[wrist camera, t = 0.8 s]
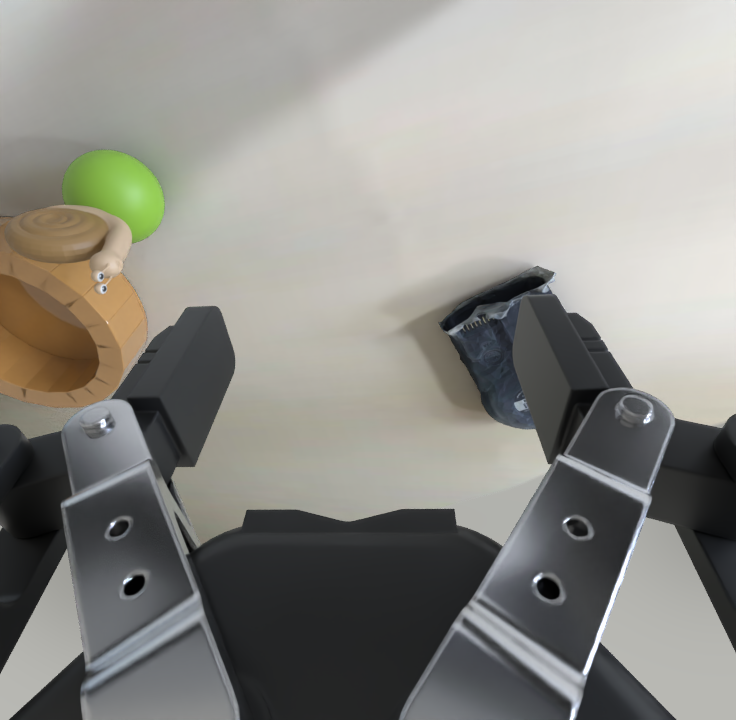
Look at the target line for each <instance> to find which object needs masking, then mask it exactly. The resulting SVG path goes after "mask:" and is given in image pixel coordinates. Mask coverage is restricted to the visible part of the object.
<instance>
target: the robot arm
mask: <svg viewBox="0 0 736 720" xmlns="http://www.w3.org/2000/svg"><path fill="white" fill-rule="evenodd" d="M513 363H514V367H515V370H516V373H517V376H518V379H519V382H520V385H521V388H522V390H523V393H524V396H525V399H526V402H527V405H528V408H529V410H530V413H531V416H532V419H533V422H534V425H535V428H536V431H537V433H538V436H539V439H540V442H541V445H542V448H543V451H544V453H545V456H546V459H547V462H548V464H552V465H551V467H550V468H549V470H548V472H547V473H546V475H545V477H544V479H543V480H542V482H541V483H540V485H539V487H538V489H537V490H536V492H535V494H534V495H533V497H532V499H531V500H530V502H529V504H528V505H527V507H526V509H525V510H524V512H523V514H522V516H521V517H520V519H519V520H518V522H517V524H516V526H515V527H514V529H513V531H512V532H511V534H510V536H509V538H508V539H507V541H506V542H505V544H504V546H501V545H500V544H498V543H497V542H495V541H494V540H492V539H490V538H488V537H486V536H484V535H482V534H480V533H478V532H476V531H473V530H470V529H468V528H465V527H461V526H457V525H456V519H455V511H454V509H401V510H397V511H393V512H389V513H385V514H380V515H376V516H372V517H368V518H364V519H360V520H356V521H351V522H345V521H340V520H336V519H332V518H328V517H324V516H320V515H316V514H312V513H308V512H304V511H300V510H247V511H246V515H245V518H244V522H243V525H242V527H238V528H235V529H232V530H230V531H227V532H224V533H222V534H220V535H218V536H216V537H214V538H212V539H210V540H209V541H207V542H205V543H204V544H202V545H201V543H200V541H199V538H198V536H197V534H196V532H195V529H194V527H193V525H192V522H191V520H190V518H189V515H188V513H187V510H186V508H185V506H184V503H183V501H182V499H181V496H180V494H179V492H178V489H177V487H176V485H175V482H174V481H173V479H172V477H171V476H172V474H173V472H174V470H175V468H176V467H195V465H196V462H197V460H198V457H199V455H200V453H201V450H202V448H203V445H204V443H205V441H206V438H207V436H208V434H209V431H210V429H211V426H212V424H213V422H214V419H215V417H216V414H217V412H218V410H219V407H220V405H221V403H222V400H223V398H224V395H225V393H226V391H227V388H228V386H229V384H230V381H231V379H232V376H233V374H234V370H235V354H234V350H233V347H232V344H231V341H230V338H229V335H228V332H227V329H226V325H225V322H224V319H223V316H222V313H221V311H220V309H219V308H218V307H217V306H202V307H187V308H186V309H185V310H184V312H183V313H182V315H181V316H180V318H179V319H178V321H177V322H176V324H175V325H174V326H169V327H168V328H166V329H165V330H164V331H162V332H161V333H160V334H158V335H157V336H156V337H154V339H153V340H152V341H151V343H150V344H149V346H148V347H147V349H146V350H145V353H143V354H142V356H141V357H140V358H139V360H138V364H135V366H134V367H133V368H132V370H131V371H130V373H129V374H128V376H127V377H126V378H125V380H124V381H123V383H122V384H121V385H120V387H119V388H118V390H117V391H116V393H115V394H114V395H113V397H112V398H111V399H108V400H103V401H99V402H96V403H93V404H91V405H89V406H87V407H85V408H83V409H81V410H80V411H78V412H77V413H76V414H74V415H73V416H72V417H71V418H70V419H69V420H68V421H67V423H66V424H65V425H64V427H63V429H62V431H59V432H55V433H51V434H47V435H43V436H39V437H35V438H31V439H27V438H26V437H25V435H24V434H23V433H22V432H21V431H20V429H19V428H17V427H16V426H14V425H9V424H2V425H0V525H1V526H2V527H3V528H2V529H1V531H0V673H1V671H2V669H3V667H4V665H5V664H6V662H7V660H8V658H9V656H10V654H11V652H12V651H13V649H14V647H15V645H16V643H17V641H18V639H19V637H20V636H21V634H22V632H23V630H24V628H25V626H26V624H27V622H28V620H29V619H30V617H31V615H32V613H33V611H34V609H35V607H36V605H37V604H38V602H39V600H40V598H41V596H42V594H43V592H44V590H45V588H46V586H47V585H48V583H49V581H50V579H51V577H52V575H53V573H54V572H55V570H56V568H57V566H58V564H59V562H60V560H61V558H62V557H63V555H64V553H65V551H66V549H67V550H68V556H69V563H70V569H71V575H72V581H73V587H74V594H75V600H76V607H77V613H78V619H79V626H80V632H81V638H82V645H83V652H82V653H81V654H80V655H79V656H78V657H77V658H75V659H74V660H73V661H72V662H71V663H70V664H69V665H68V666H67V667H66V668H65V669H64V670H62V671H61V672H60V673H59V674H58V675H57V676H56V677H55V678H54V679H53V680H52V681H51V682H49V683H48V684H47V685H46V686H45V687H44V688H43V689H42V690H41V691H40V692H39V693H38V694H37V695H35V696H34V697H33V698H32V699H31V700H30V701H29V702H28V703H27V704H26V705H24V706H23V707H22V708H21V709H20V710H19V711H18V712H17V713H16V714H15V715H14V716H13V717H11V718H10V719H9V720H676V719H675V718H674V717H673V716H672V715H671V714H670V713H669V712H668V711H667V710H666V709H665V708H664V707H663V706H662V705H661V704H660V703H659V702H658V701H657V700H656V699H655V698H654V697H653V696H652V695H651V693H649V691H648V690H647V689H646V688H645V687H644V686H643V685H642V684H641V683H640V682H639V681H638V680H637V679H636V678H635V677H634V676H633V675H632V674H631V673H630V672H629V671H628V670H627V669H626V668H625V667H624V666H623V665H622V664H621V663H620V662H619V661H618V660H617V659H616V658H615V657H614V656H613V655H612V654H611V653H610V652H609V651H608V650H607V649H606V648H605V647H604V646H603V645H602V644H601V643H600V640H601V638H602V635H603V632H604V629H605V627H606V624H607V621H608V619H609V616H610V613H611V610H612V608H613V605H614V602H615V599H616V597H617V594H618V591H619V589H620V586H621V583H622V580H623V578H624V575H625V572H626V570H627V566H628V564H629V561H630V558H631V556H632V553H633V550H634V547H635V545H636V542H637V539H638V537H639V534H640V531H641V529H642V526H643V523H644V520H645V518H646V517H647V518H651V519H655V520H659V521H662V522H666V523H670V524H673V525H675V527H676V529H677V531H678V533H679V535H680V537H681V539H682V542H683V544H684V546H685V548H686V550H687V552H688V554H689V556H690V558H691V560H692V562H693V565H694V567H695V569H696V571H697V573H698V575H699V577H700V579H701V581H702V583H703V585H704V587H705V589H706V591H707V594H708V596H709V597H710V600H711V602H712V604H713V606H714V608H715V610H716V612H717V614H718V616H719V619H720V621H721V623H722V625H723V627H724V629H725V631H726V633H727V635H728V637H729V639H730V641H731V643H732V645H733V648H734V650H735V652H736V414H735V415H733V416H731V417H730V418H729V419H728V420H727V422H726V423H725V425H724V426H723V428H717V427H713V426H708V425H703V424H698V423H693V422H688V421H684V420H679V419H676V418H674V415H673V413H672V412H671V410H670V409H669V408H668V407H667V406H666V405H665V404H664V403H663V402H662V401H660V400H659V399H657V398H656V397H654V396H652V395H650V394H648V393H645V392H643V391H640V390H636V389H633V387H632V386H631V384H630V383H629V381H628V379H627V378H626V376H625V375H624V373H623V372H622V370H621V368H620V367H619V365H618V364H617V362H616V361H615V359H614V358H613V356H612V354H611V353H610V352H608V348H607V347H606V345H605V343H604V342H603V340H601V337H600V336H599V334H598V333H597V331H596V329H595V328H594V326H593V325H592V324H591V323H590V322H588V321H587V320H586V319H584V318H583V317H581V316H580V315H579V314H577V313H566V312H565V310H564V308H563V306H562V305H561V303H560V301H559V299H558V298H557V296H556V295H555V294H546V295H524V296H523V297H522V299H521V303H520V308H519V314H518V319H517V325H516V330H515V336H514V341H513Z"/></svg>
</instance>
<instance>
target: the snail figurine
mask: <svg viewBox="0 0 736 720" xmlns="http://www.w3.org/2000/svg"><path fill="white" fill-rule="evenodd" d="M62 195H63V200H64V203H65V205H56V206H51V207H46V208H43V209H36V210H32V211H28V212H25V213H22V214H20V215H18V216H16V217H15V218H13V219H12V220H11V221H10V222H9V223H8V224H7V226H6V228H5V232H4V234H5V239H6V242H7V243H8V245H9V246H10V247H11V248H12V249H13V250H14V251H15V252H17V253H18V254H20V255H22V256H24V257H26V258H28V259H32V260H35V261H40V262H46V263H57V264H61V263H76V262H82V261H86V260H89V259H90V262H89V266H90V269H91V271H92V273H91V278H92V280H93V281H95V282H101V281H103V279H104V278H109V280H108V281H107V282H106V283H105V284H104V283H97V284H95V286H94V290H95V292H96V293H98V294H104V293H106V291H107V286H106V285H107V284H108V283H109V281H110V280H111V279H112V278H114V277H116V276H118V275H119V274H120V272H121V271H122V268H123V262H124V260H125V259H126V257H127V255H128V253H129V250H130V247H131V244H132V243H136V242H139V241H141V240H143V239H145V238H147V237H149V236H150V235H151V234H152V233H153V232H154V231H155V230H156V229H157V228H158V226H159V225H160V223H161V221H162V218H163V214H164V207H165V204H164V196H163V192H162V189H161V187H160V184H159V182H158V181H157V179H156V177H155V176H154V175H153V173H152V172H151V171H150V170H149V169H148V168H147V167H146V166H145V165H144V164H143V163H141V162H140V161H138V160H137V159H135V158H134V157H132V156H130V155H127V154H125V153H122V152H118V151H114V150H95V151H91V152H88V153H85V154H83V155H81V156H80V157H78V158H77V159H75V160H74V161H73V162H72V163H71V165H70V166H69V167H68V169H67V171H66V173H65V175H64V178H63V183H62Z"/></svg>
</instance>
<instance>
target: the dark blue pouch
mask: <svg viewBox="0 0 736 720" xmlns="http://www.w3.org/2000/svg"><path fill="white" fill-rule="evenodd" d="M555 275H556V273H555V272H552V271H549V270H547V269H543V268H541V267H539V266H536V267H534V268H532V269H530V270H528V271H526V272H524V273H522V274H520V275H518V276H517V277H515V278H513V279H511V280H509V281H507V282H505V283H502V284H500V285H498V286H496V287H494V288H492V289H490V290H488V291H485V292H483V293H480V294H478V295H476V296H474V297H472V298H470V299H468V300H466V301H464V302H462V303H461V304H459V305H458V306H457V307H456V309H455V310H454V311H453V312H452V313H451V314H449V315H448V316H447V317H446V318H445V319H444V320H443V321H442V322H438V323H439V325H440V327H441V328H442V330H443V331H444V332H445V333H446V334H448V335H449V337H450V338H451V341H452V343H453V344H454V346H455V349H456V350H457V351H458V353H459V355H460V359H461V361H462V362H463V363H464V364H465V366H466V368H467V369H468V371H469V373H470V375H471V377H472V378H473V380H474V382H475V384H476V385H477V387H478V389H479V391H480V393H481V400H482V404H483V406H484V408H485V410H486V411H487V412H488V414H489V415H490V416H491V417H492V418H494V419H495V420H496V421H498V422H500V423H502V424H505V425H508V426H511V427H515V428H520V429H536V428H535V425H534V422H533V419H532V416H531V413H530V410H529V408H528V405H527V402H526V399H525V396H524V393H523V390H522V388H521V385H520V382H519V379H518V376H517V373H516V370H515V367H514V363H513V341H514V336H515V330H516V325H517V319H518V314H519V308H520V303H521V299H522V297H523V296H524V295H546V294H552V292H551V290H550V288H549V287H548V284H549V283H552V282H554V281H555V279H554V276H555ZM564 310H565V309H564ZM565 312H566V311H565Z"/></svg>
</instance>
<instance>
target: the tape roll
mask: <svg viewBox="0 0 736 720" xmlns="http://www.w3.org/2000/svg"><path fill="white" fill-rule="evenodd" d="M13 218H15V217H0V393H2V394H5V395H7V396H10V397H13V398H15V399H18V400H21V401H24V402H28V403H33V404H38V405H43V406H49V407H55V408H72V407H84V406H87V405H91V404H93V403H96V402H99V401H103V400H104V399H105V398H107V397H108V396H109V395H110V394H111V393H113V392H114V391H115V390H116V389H117V388H118V387H119V385H120V384H121V383H122V381H123V380H124V378H125V377H126V375H127V374H128V372H129V371H130V369H131V368H132V367H133V365H134V364H135V362H136V361H137V359H138V358H139V356H140V354H141V352H142V350H143V348H144V346H145V343H146V340H147V333H148V327H147V319H146V314H145V311H144V308H143V306H142V303H141V301H140V299H139V297H138V295H137V293H136V292H135V290H134V289H133V287H132V286H131V284H130V283H129V281H128V280H127V279H126V278H125V277H124V275H123V274H122V273H121V272H120V274H119V275H118V276H116V277H114V278H112V279H111V280H110V281H109V283H108V284H107V285H106V286H107V291H106V293H104V294H98V293H96V292H95V290H94V286H95V284H97V283H104V284H105V283H106V282H107V281H108V280H109V278H104V279H103V281H101V282H95V281H93V280H92V278H91V273H92V271H91V269H90V266H89V262H90V259H89V260H86V261H82V262H76V263H61V264H57V263H46V262H40V261H35V260H32V259H28V258H26V257H24V256H22V255H20V254H18V253H17V252H15V251H14V250H13V249H12V248H11V247H10V246H9V245H8V243H7V242H6V239H5V234H4V232H5V228H6V226H7V224H8V223H9V222H10V221H11V220H12V219H13Z"/></svg>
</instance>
